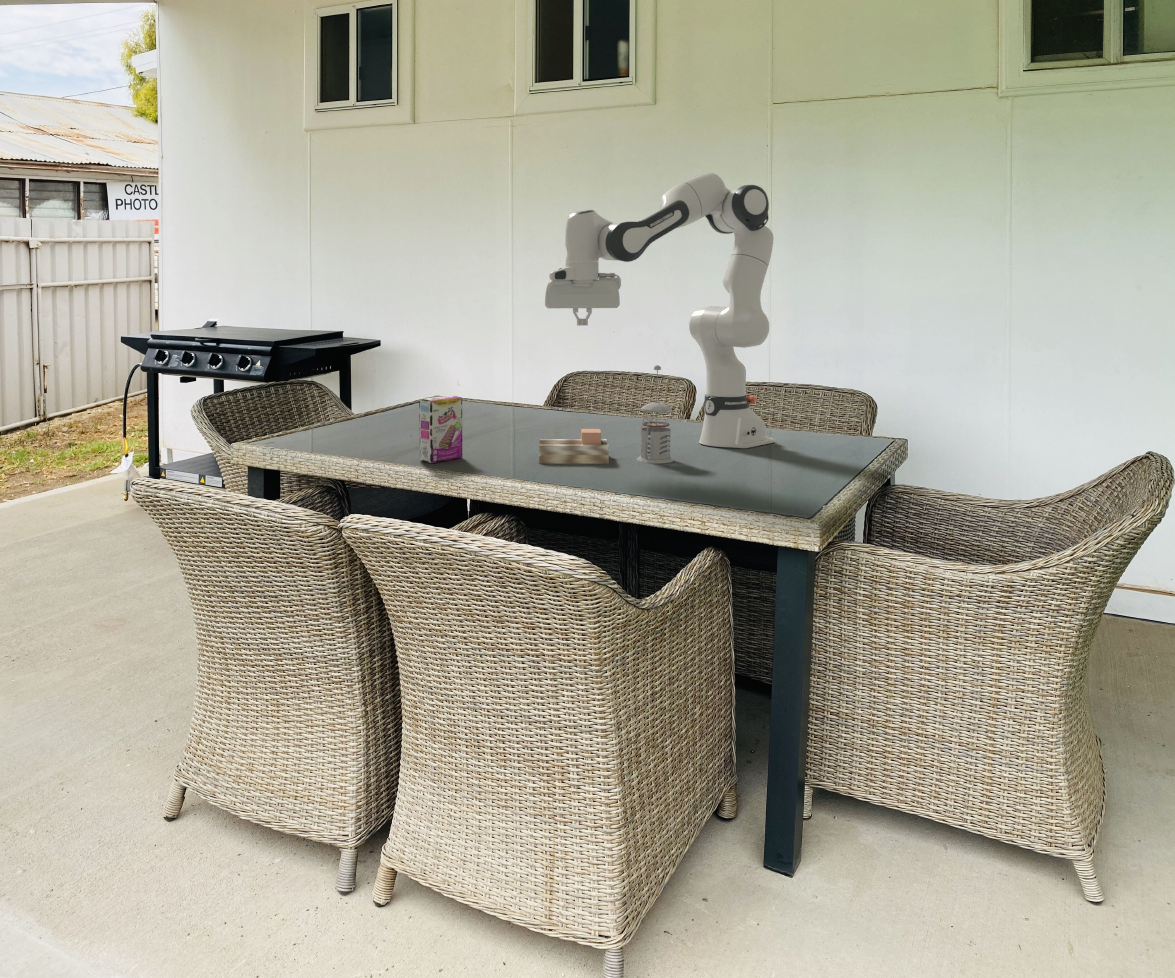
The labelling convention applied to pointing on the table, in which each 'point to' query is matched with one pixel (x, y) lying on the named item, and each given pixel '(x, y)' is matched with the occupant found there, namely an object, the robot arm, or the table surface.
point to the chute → (572, 452)
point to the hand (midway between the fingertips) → (582, 325)
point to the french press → (655, 434)
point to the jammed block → (590, 437)
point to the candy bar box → (440, 428)
